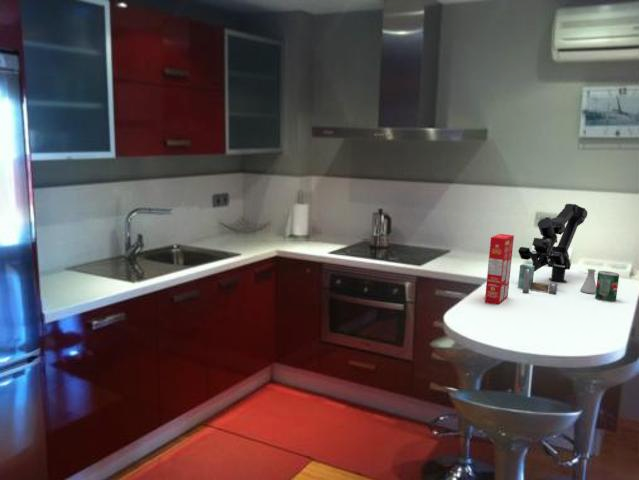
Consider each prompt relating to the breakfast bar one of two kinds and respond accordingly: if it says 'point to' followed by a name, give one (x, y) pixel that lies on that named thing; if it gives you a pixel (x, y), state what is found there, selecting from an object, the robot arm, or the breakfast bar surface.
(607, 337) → the breakfast bar surface
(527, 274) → the post
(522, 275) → the gate
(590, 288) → the flask
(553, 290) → the hinge post
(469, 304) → the breakfast bar surface
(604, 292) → the canned tomato
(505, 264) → the food packaging
